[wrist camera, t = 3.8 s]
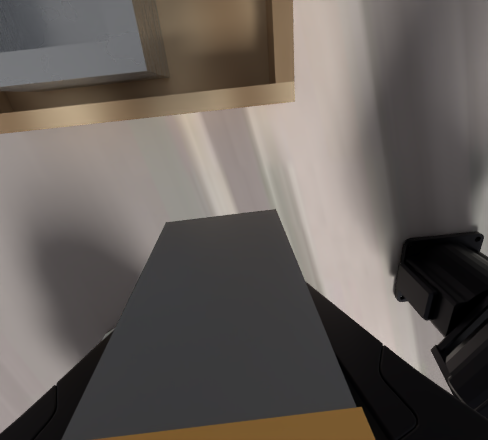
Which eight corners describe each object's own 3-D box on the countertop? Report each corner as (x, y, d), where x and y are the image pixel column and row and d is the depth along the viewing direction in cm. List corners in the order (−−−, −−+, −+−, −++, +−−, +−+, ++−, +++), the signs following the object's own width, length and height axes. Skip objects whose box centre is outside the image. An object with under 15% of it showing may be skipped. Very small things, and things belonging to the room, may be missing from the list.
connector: (276, 207, 10) (412, 526, 3) (282, 296, 12) (372, 635, 4) (164, 221, 10) (-15, 579, 3) (186, 307, 12) (116, 666, 4)
